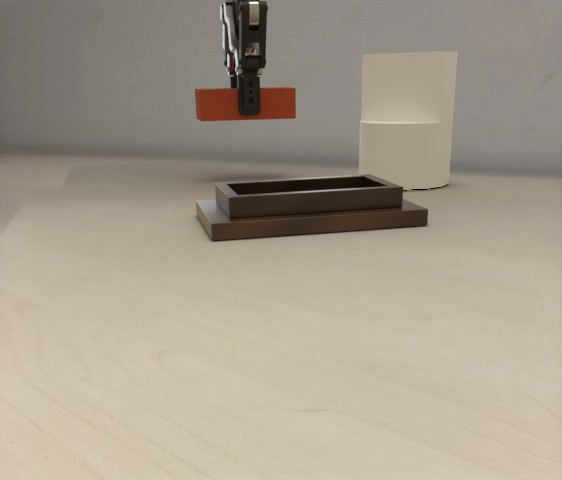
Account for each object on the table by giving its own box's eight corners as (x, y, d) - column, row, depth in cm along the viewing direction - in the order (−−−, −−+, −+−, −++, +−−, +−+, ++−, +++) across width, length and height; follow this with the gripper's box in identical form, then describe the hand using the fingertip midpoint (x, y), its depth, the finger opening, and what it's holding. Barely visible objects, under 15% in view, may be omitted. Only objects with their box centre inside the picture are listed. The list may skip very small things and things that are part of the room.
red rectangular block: (201, 121, 72) (199, 89, 71) (196, 118, 76) (194, 88, 75) (295, 118, 74) (295, 87, 73) (286, 116, 78) (286, 86, 77)
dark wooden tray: (212, 241, 49) (209, 201, 48) (196, 215, 58) (194, 181, 57) (427, 225, 52) (429, 188, 51) (381, 203, 61) (382, 171, 60)
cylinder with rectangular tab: (463, 180, 72) (473, 51, 67) (424, 193, 65) (432, 50, 60) (385, 175, 77) (390, 54, 72) (341, 186, 70) (343, 54, 65)
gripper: (192, -63, 74) (202, 111, 80) (210, -91, 61) (219, 119, 68) (262, -61, 75) (266, 110, 82) (294, -88, 62) (295, 117, 69)
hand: (245, 113), depth 75 cm, fingers closed on red rectangular block, 4 cm apart
